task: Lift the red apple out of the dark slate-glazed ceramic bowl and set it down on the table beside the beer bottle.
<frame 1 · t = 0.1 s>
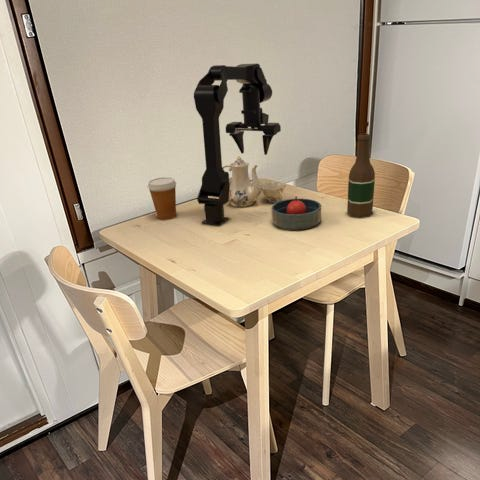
hand: (254, 153, 171), 15 cm above the table, tool pointing down, fingers open, 9 cm apart
bowl: (296, 221, 153), on the table
apple: (296, 219, 152), point 1 cm above the table, touching bowl
disposable coffee cup: (166, 216, 166), on the table
beer bottle: (359, 214, 155), on the table
chinaware: (247, 201, 174), on the table
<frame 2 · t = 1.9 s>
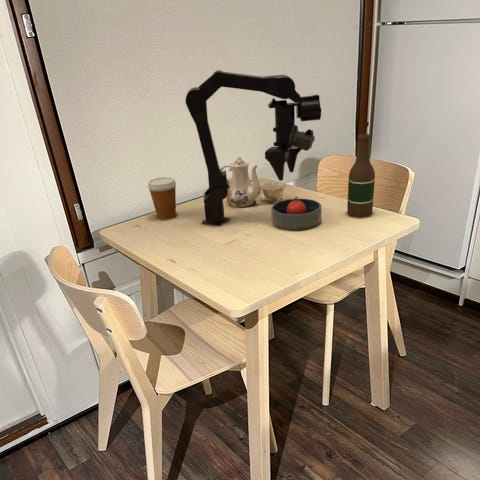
hand: (286, 176, 152), 13 cm above the table, tool pointing down, fingers open, 9 cm apart
nothing on the table moved.
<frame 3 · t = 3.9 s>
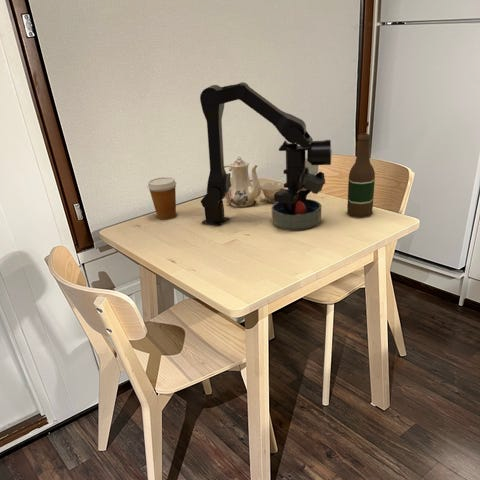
hand: (296, 216, 152), 2 cm above the table, tool pointing down, fingers closed on apple, 6 cm apart
apple: (296, 219, 152), point 1 cm above the table, touching bowl, gripper
everything else where it was.
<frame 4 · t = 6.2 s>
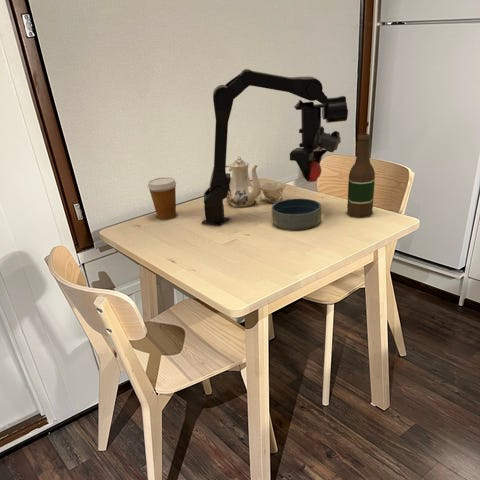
hand: (311, 177, 152), 12 cm above the table, tool pointing down, fingers closed on apple, 6 cm apart
apple: (311, 180, 153), point 11 cm above the table, touching gripper
everything else where it was.
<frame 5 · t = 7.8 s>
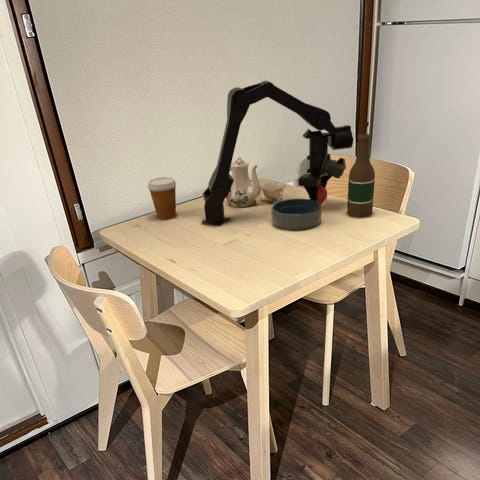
hand: (317, 200, 161), 3 cm above the table, tool pointing down, fingers closed on apple, 6 cm apart
apple: (317, 203, 161), point 2 cm above the table, touching gripper
everything else where it was.
when the fingers open (1 cm above the table, at t = 8.8 s): apple stays where it is, on the table.
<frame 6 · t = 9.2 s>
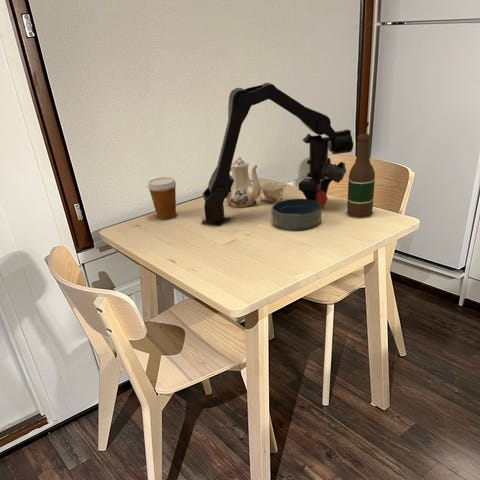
hand: (318, 204, 161), 1 cm above the table, tool pointing down, fingers open, 9 cm apart
apple: (317, 208, 162), on the table
everything else where it was.
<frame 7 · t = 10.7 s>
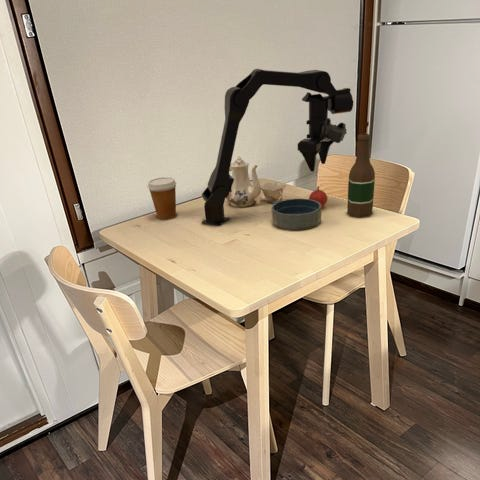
hand: (317, 167, 158), 13 cm above the table, tool pointing down, fingers open, 9 cm apart
nothing on the table moved.
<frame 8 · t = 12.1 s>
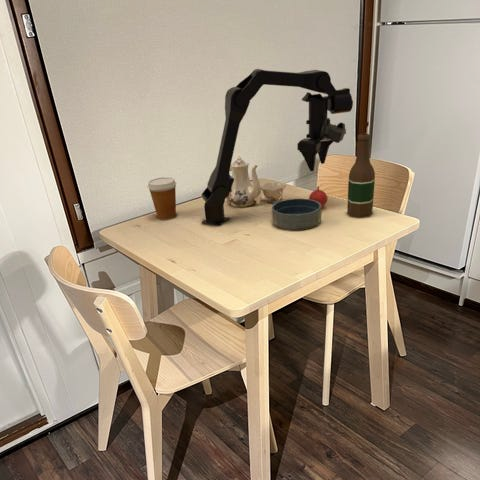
hand: (317, 167, 158), 13 cm above the table, tool pointing down, fingers open, 9 cm apart
nothing on the table moved.
at the end: apple inside the target area (0.0 cm from its centre), on the table; apple 14.5 cm from the beer bottle (horizontally); apple touching table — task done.
